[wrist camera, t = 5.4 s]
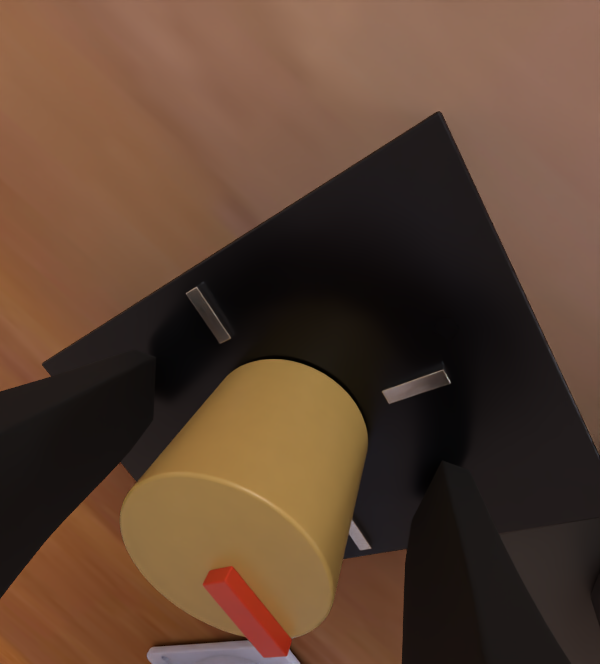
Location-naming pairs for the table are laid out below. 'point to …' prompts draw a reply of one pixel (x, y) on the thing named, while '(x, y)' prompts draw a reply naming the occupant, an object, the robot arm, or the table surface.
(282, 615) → the dimmer knob
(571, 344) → the table surface
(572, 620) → the switch box
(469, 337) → the dimmer panel
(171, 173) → the table surface
